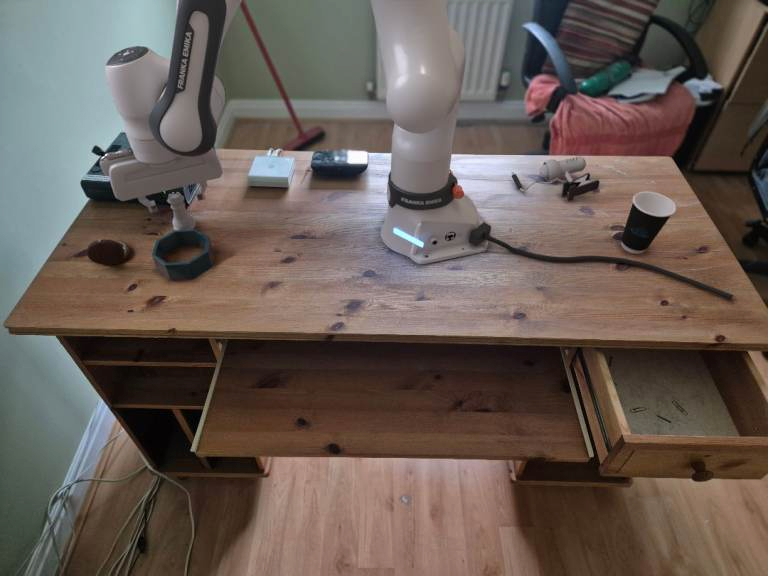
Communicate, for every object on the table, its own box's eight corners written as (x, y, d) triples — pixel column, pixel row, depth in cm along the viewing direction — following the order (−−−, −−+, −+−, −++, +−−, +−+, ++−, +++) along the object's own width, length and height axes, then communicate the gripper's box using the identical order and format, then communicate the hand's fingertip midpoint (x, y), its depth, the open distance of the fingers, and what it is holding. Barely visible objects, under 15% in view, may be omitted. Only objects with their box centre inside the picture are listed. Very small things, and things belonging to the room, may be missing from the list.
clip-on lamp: (521, 213, 116) (599, 196, 115) (522, 193, 111) (603, 175, 110) (507, 180, 123) (581, 164, 122) (508, 160, 118) (584, 142, 117)
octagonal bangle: (216, 243, 102) (212, 227, 99) (210, 278, 95) (205, 262, 92) (164, 246, 101) (158, 230, 98) (154, 281, 94) (148, 266, 91)
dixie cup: (621, 259, 101) (642, 215, 93) (607, 234, 107) (626, 191, 99) (659, 258, 102) (683, 215, 94) (644, 233, 107) (665, 191, 99)
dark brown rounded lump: (131, 242, 102) (118, 213, 96) (130, 268, 96) (116, 239, 91) (88, 249, 100) (73, 221, 94) (85, 276, 94) (69, 247, 89)
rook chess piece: (200, 223, 106) (190, 192, 100) (186, 235, 103) (175, 204, 98) (183, 218, 107) (173, 186, 102) (169, 229, 105) (157, 198, 99)
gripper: (97, 164, 86) (125, 227, 96) (216, 138, 92) (231, 200, 102) (93, 147, 90) (121, 209, 100) (208, 123, 96) (223, 184, 106)
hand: (177, 204), depth 101 cm, fingers open, 8 cm apart
